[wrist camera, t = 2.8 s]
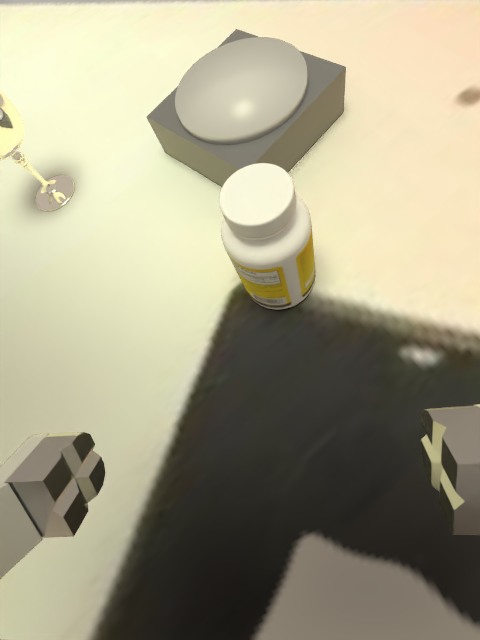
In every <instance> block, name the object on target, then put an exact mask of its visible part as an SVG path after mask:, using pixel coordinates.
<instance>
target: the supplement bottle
mask: <svg viewBox="0 0 480 640" xmlns="http://www.w3.org/2000/svg"><path fill="white" fill-rule="evenodd" d="M219 204H220V208H221V211H222V214H223V216H224V218H223V222H222V227H221V236H222V241H223V244H224V247H225V249H226V251H227V253H228V255H229V257H230V259H231V261H232V263H233V265H234V267H235V269H236V271H237V273H238V275H239V277H240V279H241V281H242V283H243V285H244V287H245V289H246V291H247V292H248V294H249V295H250V297H251V298H252V299H253V300H254V301H255V302H256V303H258V304H259V305H261V306H263V307H265V308H269V309H276V310H279V309H286V308H290V307H293V306H295V305H297V304H298V303H300V302H301V301H302V300H304V299H305V298H306V297H307V296H308V294H309V293H310V291H311V290H312V288H313V285H314V281H315V263H314V251H313V239H312V225H311V219H310V214H309V211H308V209H307V207H306V205H305V204H304V202H303V201H302V200H301V199H300V198H299V197H298V196H297V195H296V194H295V189H294V184H293V181H292V179H291V177H290V175H289V174H288V173H287V172H286V171H285V170H284V169H282V168H281V167H279V166H276V165H273V164H268V163H258V164H252V165H249V166H246V167H244V168H241V169H240V170H238V171H236V172H235V173H234V174H232V175H231V176H230V177H229V178H228V179H227V181H226V182H225V183H224V185H223V187H222V189H221V192H220V196H219Z"/></svg>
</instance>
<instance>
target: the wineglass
mask: <svg viewBox="0 0 480 640" xmlns="http://www.w3.org/2000/svg"><path fill="white" fill-rule="evenodd" d="M23 138H24V125H23V120H22V118H21V116H20V114H19V112H18V110H17V109H16V108H15V106H14V105H13V103H12V102H11V101H10V100H9V99H8V98H7V96H6V95H5V94H4V93H3V92H2V91H1V90H0V161H1V160H4V159H6V158H8V157H10V156H12V159H13V160H14V162H15V163H16V164H18V165H19V166H21V167H23V168H24V169H26V170H27V171H29V172H30V173H31V174H32V175H33V176H35V177H36V178H37V179H38V180H39V181H40V182H41V184H42V186H41V187H40V188H39V190H38V192H37V194H36V204H37V206H38V207H39V208H40V209H41V210H43V211H53V210H56V209H59V208H60V207H62V206H63V205H65V204H66V203H67V202H68V201H69V199H70V198H71V196H72V195H73V192H74V182H73V180H72V179H71V178H70V177H68V176H66V175H58V176H55V177H52V178H50V179H49V180H47V181H46V180H45V179H43V178H42V177H41V176H40V175H39V174H38V173H37V172H36V171H35V170H34V169H33V167H32V166H31V165H30V163H29V162H28V159H27V158H26V157H25V156H24V155H23V154H22V153H20V152H18V151H17V150H18V148H19V147H20V145H21V144H22V141H23Z"/></svg>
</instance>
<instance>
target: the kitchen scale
mask: <svg viewBox="0 0 480 640" xmlns="http://www.w3.org/2000/svg"><path fill="white" fill-rule="evenodd" d="M345 73H346V67H344V66H341V65H339V64H336V63H333V62H330V61H327V60H324V59H321V58H318V57H315V56H313V55H310V54H307V53H304V52H301V51H299V50H298V49H297V48H296V47H295V46H294V45H292V44H290V43H287V42H285V41H282V40H279V39H275V38H268V37H258V36H255V35H252V34H249V33H246V32H243V31H240V30H237V29H236V30H235V31H234V32H233V33H232V34H231V35H230V36H229V37H228V38H227V39H226V40H225V41H224V42H223V43H222V44H221V45H220V46H219V47H218V48H216V49H214V50H212V51H211V52H209V53H207V54H206V55H204V56H203V57H202V58H200V59H199V60H198V61H197V62H196V63H195V64H193V65H192V67H191V68H190V69H189V70H188V71H187V72H186V74H185V75H184V76H183V78H182V80H181V81H180V83H179V85H178V87H177V88H176V89H175V90H174V91H173V92H172V93H171V94H170V95H169V96H168V97H166V98H165V99H164V100H163V101H162V102H161V103H160V104H159V105H158V106H157V107H156V108H155V109H154V110H153V111H152V112H151V113H150V114H149V115H148V116H147V119H148V121H149V123H150V125H151V126H152V128H153V130H154V132H155V134H156V136H157V138H158V140H159V141H160V143H161V145H162V147H163V149H164V151H165V153H167V154H169V155H170V156H172V157H174V158H175V159H177V160H179V161H180V162H182V163H184V164H185V165H187V166H189V167H190V168H192V169H193V170H195V171H197V172H198V173H200V174H202V175H203V176H205V177H207V178H208V179H210V180H212V181H213V182H215V183H217V184H218V185H220V186H222V187H223V185H224V183H225V182H226V181H227V179H228V178H229V177H230V176H231V175H232V174H234V173H235V172H236V171H238V170H240V169H241V168H244V167H246V166H249V165H252V164H258V163H268V164H273V165H276V166H279V167H281V168H282V169H284V170H285V171H286V172H287V173H288V171H289V170H290V169H291V168H292V167H293V166H294V165H295V164H296V163H297V162H298V161H299V160H300V158H301V157H302V156H303V155H304V154H305V153H306V152H307V151H308V150H309V149H310V148H311V147H312V145H313V144H314V143H315V142H316V141H317V140H318V139H319V138H320V137H321V136H322V135H323V134H324V133H325V131H326V130H327V129H328V128H329V127H330V126H331V125H332V124H333V123H334V122H335V121H336V120H337V118H338V117H339V116H340V115H341V114H342V113H343V112H344V92H345Z"/></svg>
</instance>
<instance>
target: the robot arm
mask: <svg viewBox="0 0 480 640" xmlns="http://www.w3.org/2000/svg"><path fill="white" fill-rule="evenodd" d="M422 426H423V428H424V430H425V432H426V435H425V437H424V438H423V439H422V440H421V448H422V457H423V463H424V467H425V470H426V473H427V476H428V479H429V481H430V483H431V485H432V486H433V487H435V488H436V489H437V490H439V491H440V499H439V504H440V506H441V508H442V511H443V513H444V515H445V517H446V520H447V522H448V524H449V526H450V529H451V531H452V533H453V534H462V535H480V404H479V405H474V406H461V407H448V408H434V409H423V412H422ZM94 446H95V443H94V441H93V439H92V437H91V435H90V434H88V433H84V432H80V433H56V434H41V435H34V436H31V437H29V438H28V439H27V440H26V441H25V442H24V443H23V444H22V445H21V446H20V447H19V448H18V449H17V450H16V451H15V452H14V453H13V454H12V456H11V457H10V458H9V459H8V460H7V461H6V462H5V463H4V464H3V465H2V466H1V467H0V579H1V578H2V577H3V576H4V575H5V574H6V573H7V572H8V571H9V570H10V569H11V568H13V567H14V566H15V565H16V564H17V563H18V562H19V561H20V560H21V559H22V558H23V557H24V556H25V555H26V554H27V553H29V552H30V551H31V550H32V549H33V548H34V547H35V546H36V545H37V544H38V543H39V542H40V541H41V540H42V537H67V536H74V535H75V533H76V532H77V530H78V528H79V526H80V525H81V523H82V521H83V519H84V518H85V516H86V514H87V512H88V504H87V503H88V502H89V501H91V500H92V499H93V498H94V497H96V496H97V495H98V493H99V491H100V489H101V487H102V486H103V482H104V477H105V468H104V463H103V461H102V458H101V457H100V456H99V455H98V454H96V453H95V452H94V451H93V448H94ZM0 640H2V639H0Z"/></svg>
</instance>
